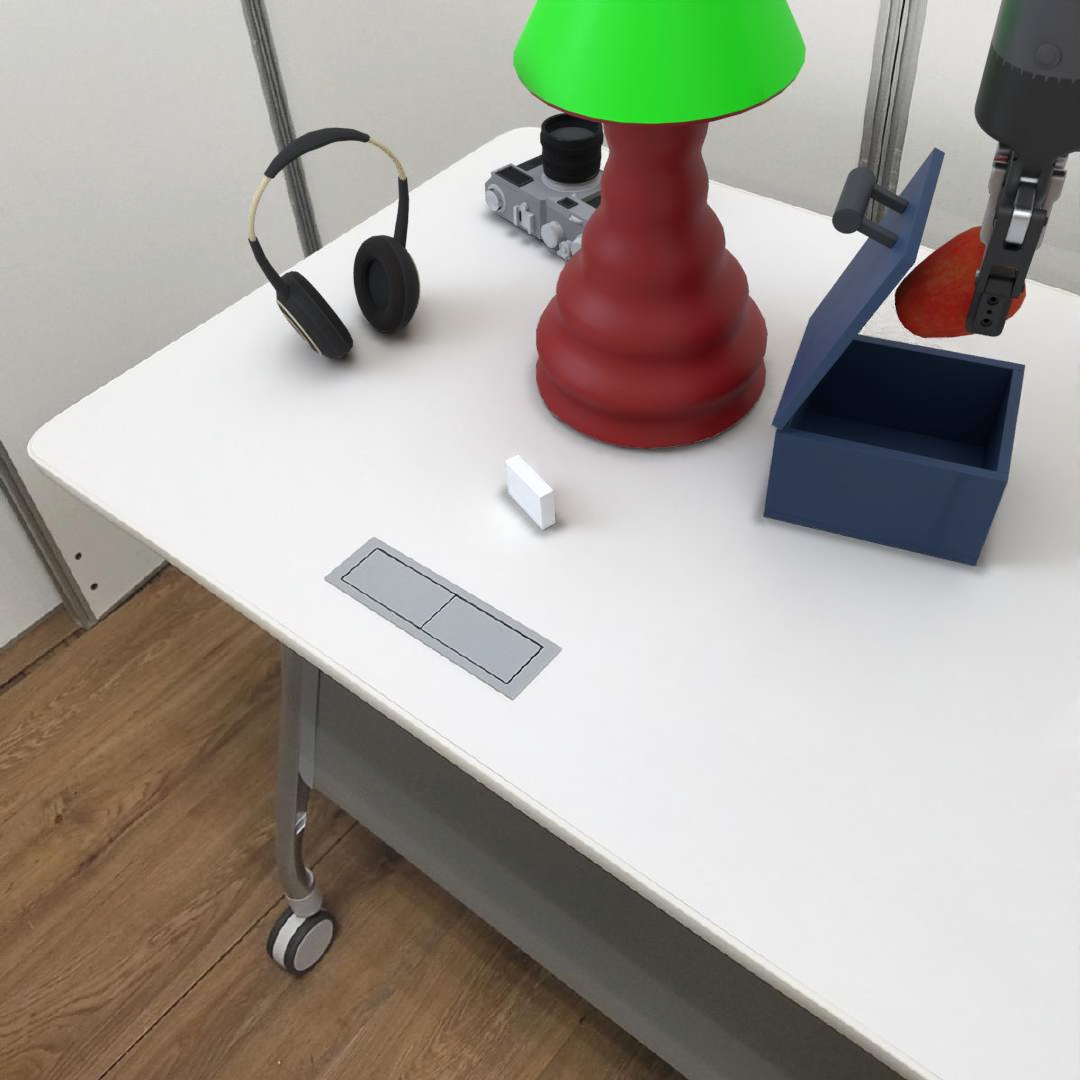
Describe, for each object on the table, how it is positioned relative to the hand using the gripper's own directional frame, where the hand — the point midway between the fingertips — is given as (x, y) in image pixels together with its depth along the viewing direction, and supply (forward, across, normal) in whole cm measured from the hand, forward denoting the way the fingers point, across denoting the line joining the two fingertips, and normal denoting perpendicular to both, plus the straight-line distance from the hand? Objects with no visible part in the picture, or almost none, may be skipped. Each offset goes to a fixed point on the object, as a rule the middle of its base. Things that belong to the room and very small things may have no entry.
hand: (988, 298), depth 70 cm
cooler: (+18, 0, +4) cm, 19 cm away
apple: (+2, 0, +5) cm, 5 cm away
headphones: (+18, +4, +52) cm, 55 cm away
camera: (+18, +27, +39) cm, 51 cm away
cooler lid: (+2, 0, +8) cm, 8 cm away
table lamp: (+18, +7, +25) cm, 32 cm away
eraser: (+18, -11, +29) cm, 36 cm away
